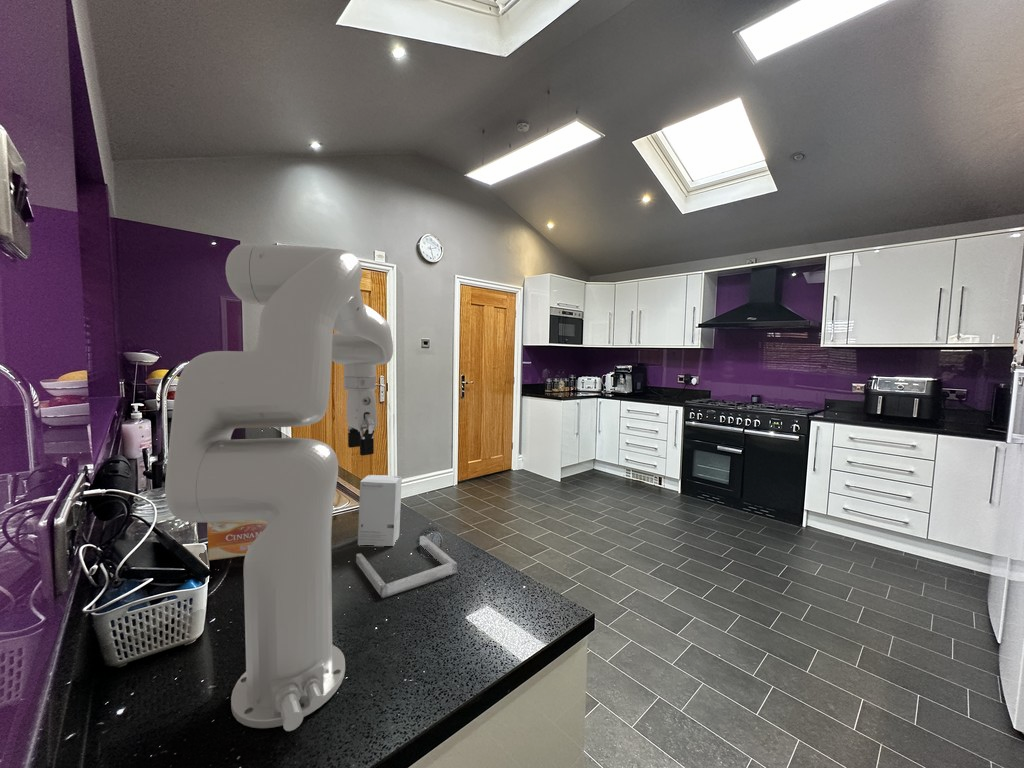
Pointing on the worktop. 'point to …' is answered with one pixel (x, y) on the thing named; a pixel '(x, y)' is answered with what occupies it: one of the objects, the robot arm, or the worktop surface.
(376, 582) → the bracket
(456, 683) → the worktop surface
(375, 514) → the skincare box
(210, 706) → the worktop surface
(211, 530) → the coffeecake box
